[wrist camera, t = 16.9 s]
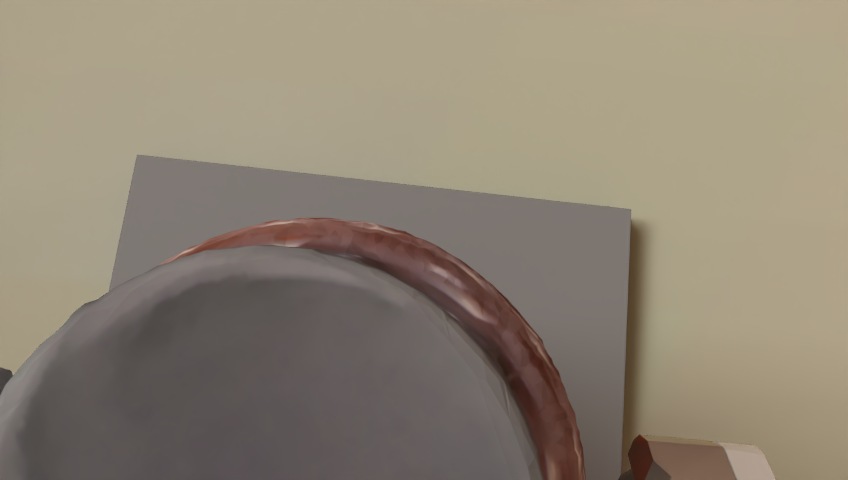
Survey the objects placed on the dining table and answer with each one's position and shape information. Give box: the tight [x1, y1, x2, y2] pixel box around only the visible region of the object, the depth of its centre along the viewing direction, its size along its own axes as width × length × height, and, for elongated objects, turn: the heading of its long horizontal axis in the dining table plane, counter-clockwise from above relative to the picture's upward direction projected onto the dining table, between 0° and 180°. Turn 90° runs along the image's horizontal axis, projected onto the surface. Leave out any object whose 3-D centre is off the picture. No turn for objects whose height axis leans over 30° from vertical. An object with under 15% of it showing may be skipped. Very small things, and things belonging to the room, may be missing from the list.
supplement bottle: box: [0, 217, 586, 480], centre depth 10 cm, size 6×6×11 cm
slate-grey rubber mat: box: [109, 155, 631, 480], centre depth 16 cm, size 12×12×1 cm
